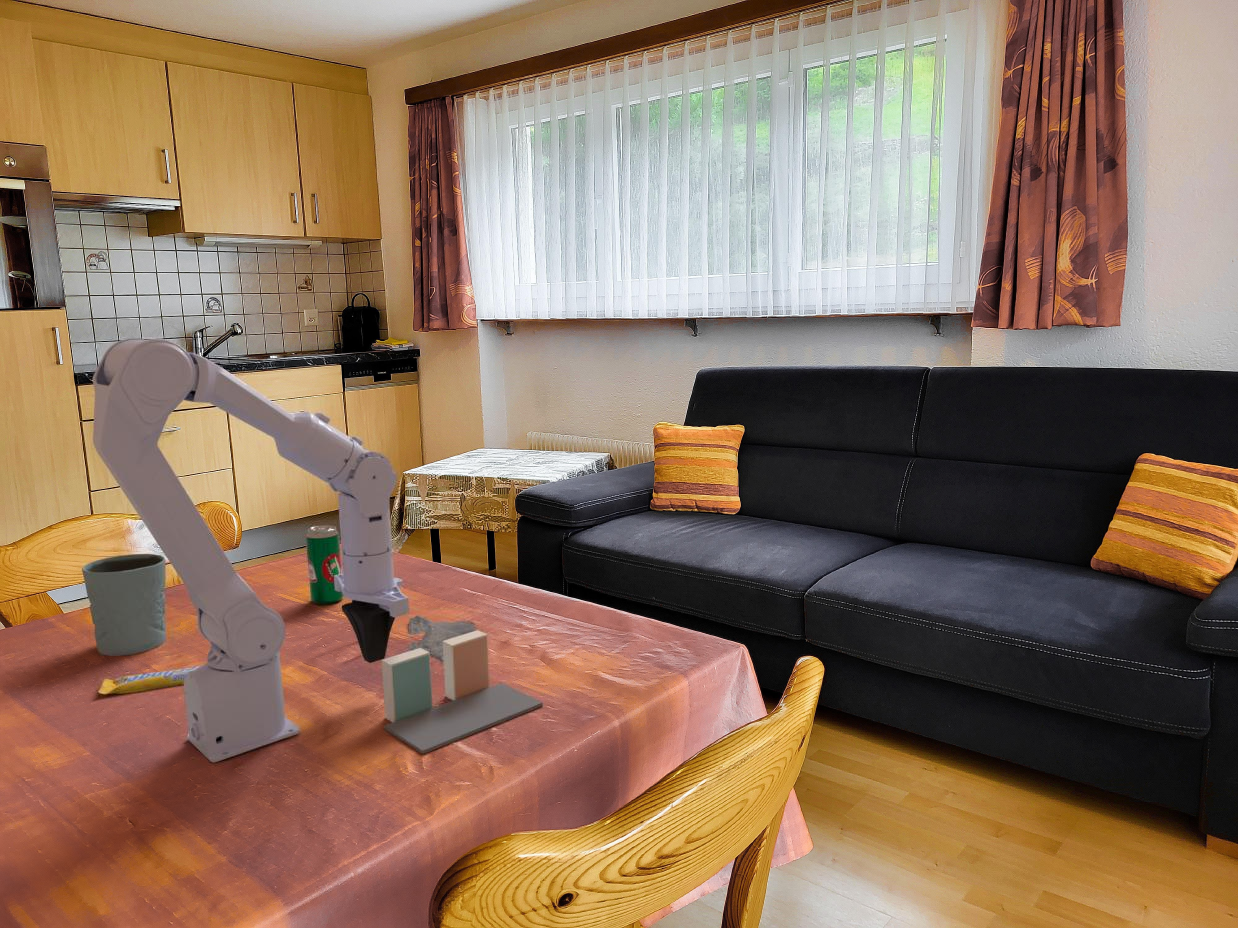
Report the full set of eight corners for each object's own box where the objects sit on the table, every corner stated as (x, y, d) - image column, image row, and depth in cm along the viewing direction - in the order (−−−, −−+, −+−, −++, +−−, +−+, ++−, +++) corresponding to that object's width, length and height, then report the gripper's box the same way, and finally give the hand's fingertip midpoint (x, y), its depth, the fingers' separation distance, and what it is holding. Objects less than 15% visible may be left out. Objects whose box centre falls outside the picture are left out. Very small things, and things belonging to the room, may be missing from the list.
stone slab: (405, 616, 132) (473, 607, 133) (407, 628, 132) (474, 618, 134) (401, 666, 114) (478, 655, 116) (402, 680, 115) (480, 668, 116)
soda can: (311, 597, 144) (305, 526, 142) (343, 594, 146) (338, 523, 144) (310, 607, 140) (304, 533, 138) (343, 603, 141) (338, 530, 139)
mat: (422, 753, 92) (422, 750, 92) (384, 728, 98) (384, 725, 98) (542, 705, 103) (542, 702, 103) (501, 685, 109) (501, 682, 109)
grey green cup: (75, 654, 122) (64, 570, 120) (131, 629, 131) (122, 550, 129) (137, 660, 119) (127, 574, 117) (189, 633, 129) (181, 554, 127)
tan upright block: (455, 701, 105) (452, 645, 103) (445, 696, 106) (442, 640, 105) (490, 688, 108) (487, 634, 107) (480, 683, 110) (477, 630, 108)
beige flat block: (395, 723, 99) (391, 665, 98) (385, 717, 101) (381, 659, 100) (433, 709, 103) (430, 652, 101) (423, 704, 104) (420, 647, 103)
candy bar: (248, 667, 117) (247, 653, 117) (248, 678, 114) (247, 665, 113) (104, 689, 111) (102, 675, 111) (98, 702, 107) (97, 687, 107)
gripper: (429, 554, 102) (436, 666, 104) (368, 533, 112) (375, 635, 114) (373, 567, 97) (381, 684, 99) (314, 544, 107) (323, 650, 109)
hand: (374, 659), depth 106 cm, fingers closed
